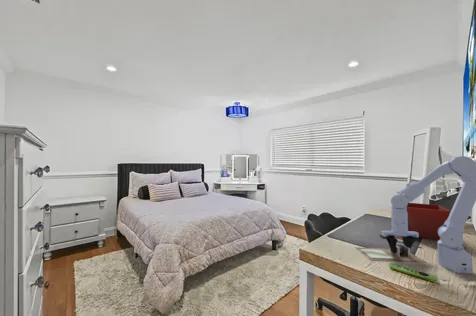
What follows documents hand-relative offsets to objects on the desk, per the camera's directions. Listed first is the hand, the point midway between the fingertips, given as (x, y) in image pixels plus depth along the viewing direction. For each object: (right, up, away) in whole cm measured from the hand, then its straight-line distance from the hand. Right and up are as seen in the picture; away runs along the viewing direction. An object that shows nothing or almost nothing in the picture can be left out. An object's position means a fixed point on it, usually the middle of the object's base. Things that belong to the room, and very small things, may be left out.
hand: (400, 252), depth 94 cm
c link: (0, -1, 0) cm, 1 cm away
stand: (-5, -2, 0) cm, 5 cm away
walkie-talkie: (+15, -3, +18) cm, 23 cm away
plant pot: (+35, -3, +29) cm, 45 cm away
